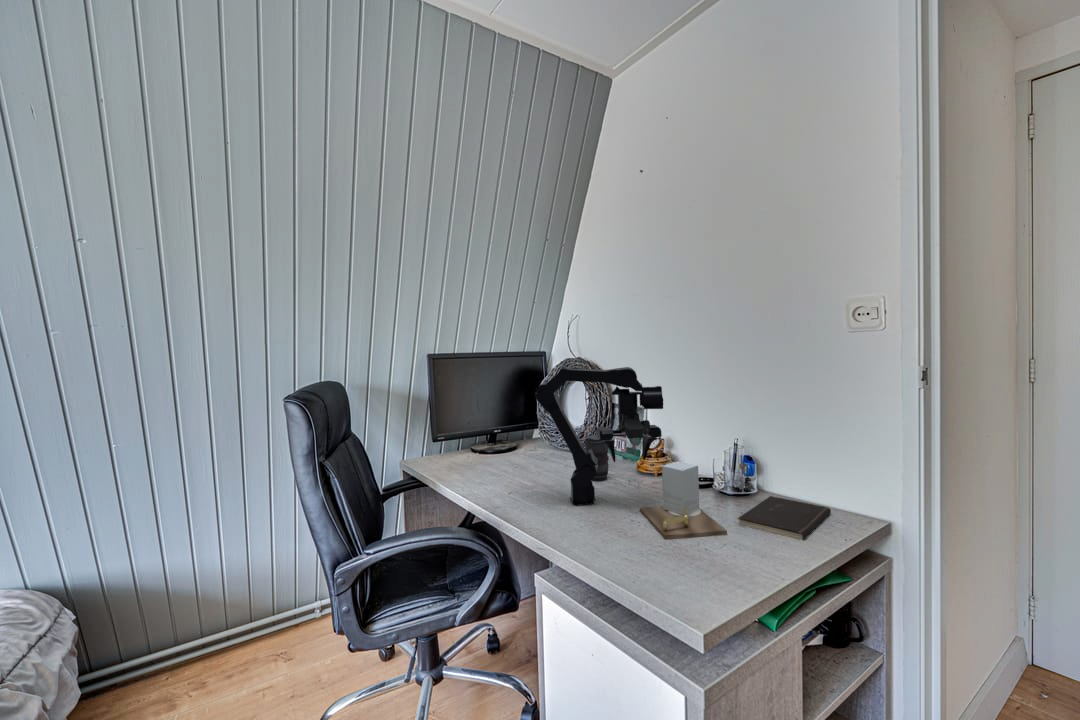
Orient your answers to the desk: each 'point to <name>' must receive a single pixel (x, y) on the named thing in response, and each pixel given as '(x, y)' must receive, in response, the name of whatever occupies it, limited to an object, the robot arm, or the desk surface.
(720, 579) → the desk surface
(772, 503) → the hardcover book
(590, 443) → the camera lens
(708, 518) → the walnut board
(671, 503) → the supplement box
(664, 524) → the bent brass wire
